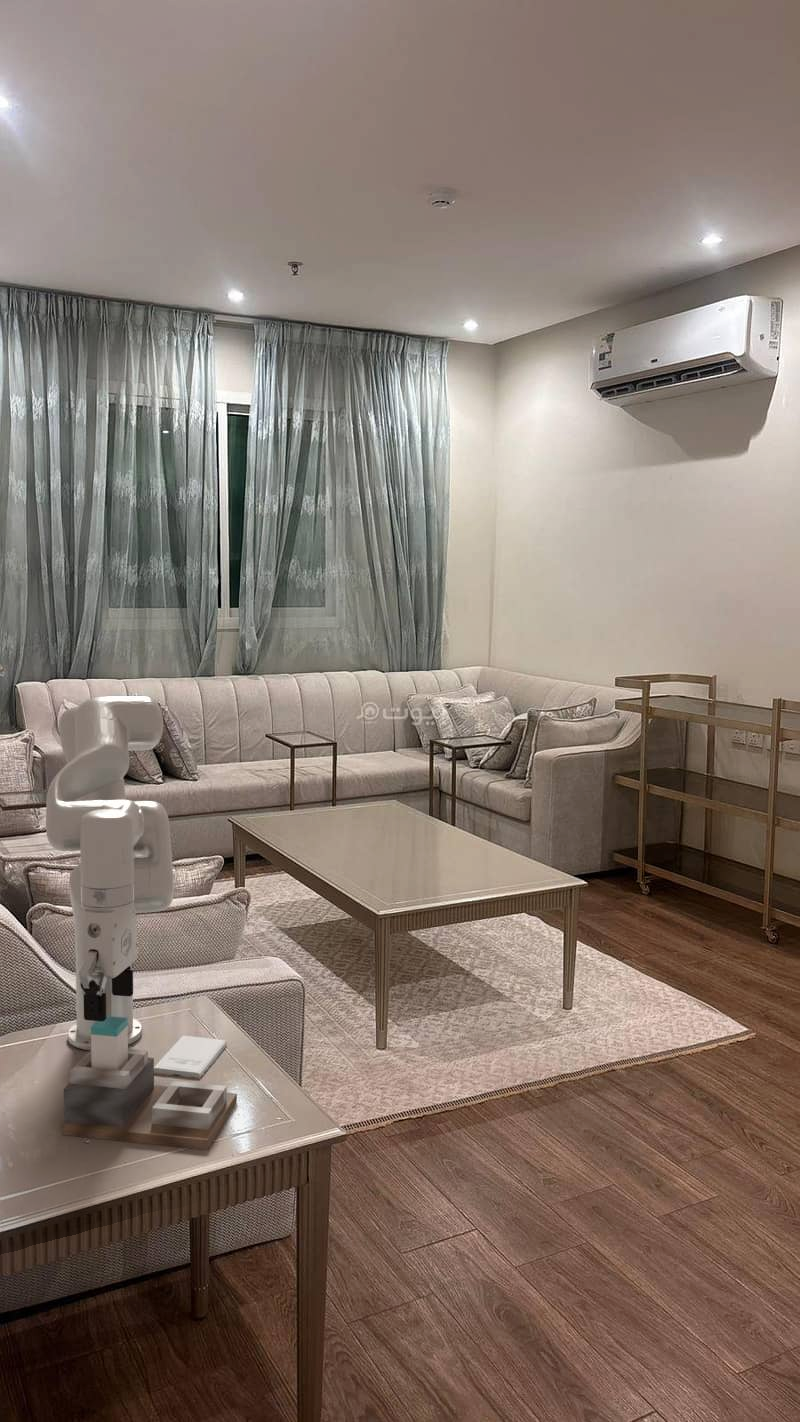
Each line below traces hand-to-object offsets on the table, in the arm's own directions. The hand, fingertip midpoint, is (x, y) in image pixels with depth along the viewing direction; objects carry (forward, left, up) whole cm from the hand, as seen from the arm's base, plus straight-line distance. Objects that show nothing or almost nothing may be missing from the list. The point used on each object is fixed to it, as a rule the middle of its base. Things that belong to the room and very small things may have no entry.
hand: (109, 1007), depth 160 cm
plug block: (-1, 0, -11) cm, 11 cm away
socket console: (+4, +4, -17) cm, 18 cm away
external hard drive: (-9, +19, -18) cm, 28 cm away
